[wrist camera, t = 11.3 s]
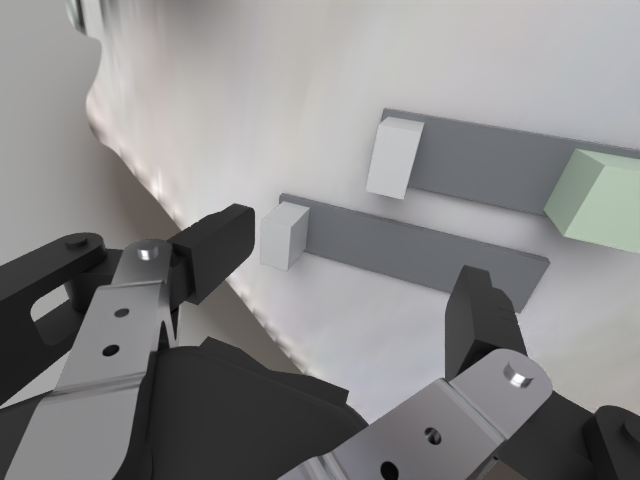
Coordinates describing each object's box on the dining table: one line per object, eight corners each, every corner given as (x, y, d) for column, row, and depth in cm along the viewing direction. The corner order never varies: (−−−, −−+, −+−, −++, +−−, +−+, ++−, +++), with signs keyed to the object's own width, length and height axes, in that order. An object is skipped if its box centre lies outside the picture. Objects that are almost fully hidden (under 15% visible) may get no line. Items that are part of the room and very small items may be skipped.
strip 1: (547, 258, 28) (569, 297, 23) (518, 308, 31) (532, 351, 26) (282, 193, 34) (256, 213, 29) (279, 240, 37) (255, 266, 32)
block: (654, 162, 22) (704, 183, 18) (613, 224, 25) (648, 255, 20) (575, 148, 23) (604, 165, 19) (543, 209, 26) (563, 236, 21)
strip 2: (767, 171, 21) (864, 201, 16) (701, 247, 24) (768, 291, 19) (385, 108, 27) (372, 116, 22) (371, 175, 30) (357, 195, 25)
